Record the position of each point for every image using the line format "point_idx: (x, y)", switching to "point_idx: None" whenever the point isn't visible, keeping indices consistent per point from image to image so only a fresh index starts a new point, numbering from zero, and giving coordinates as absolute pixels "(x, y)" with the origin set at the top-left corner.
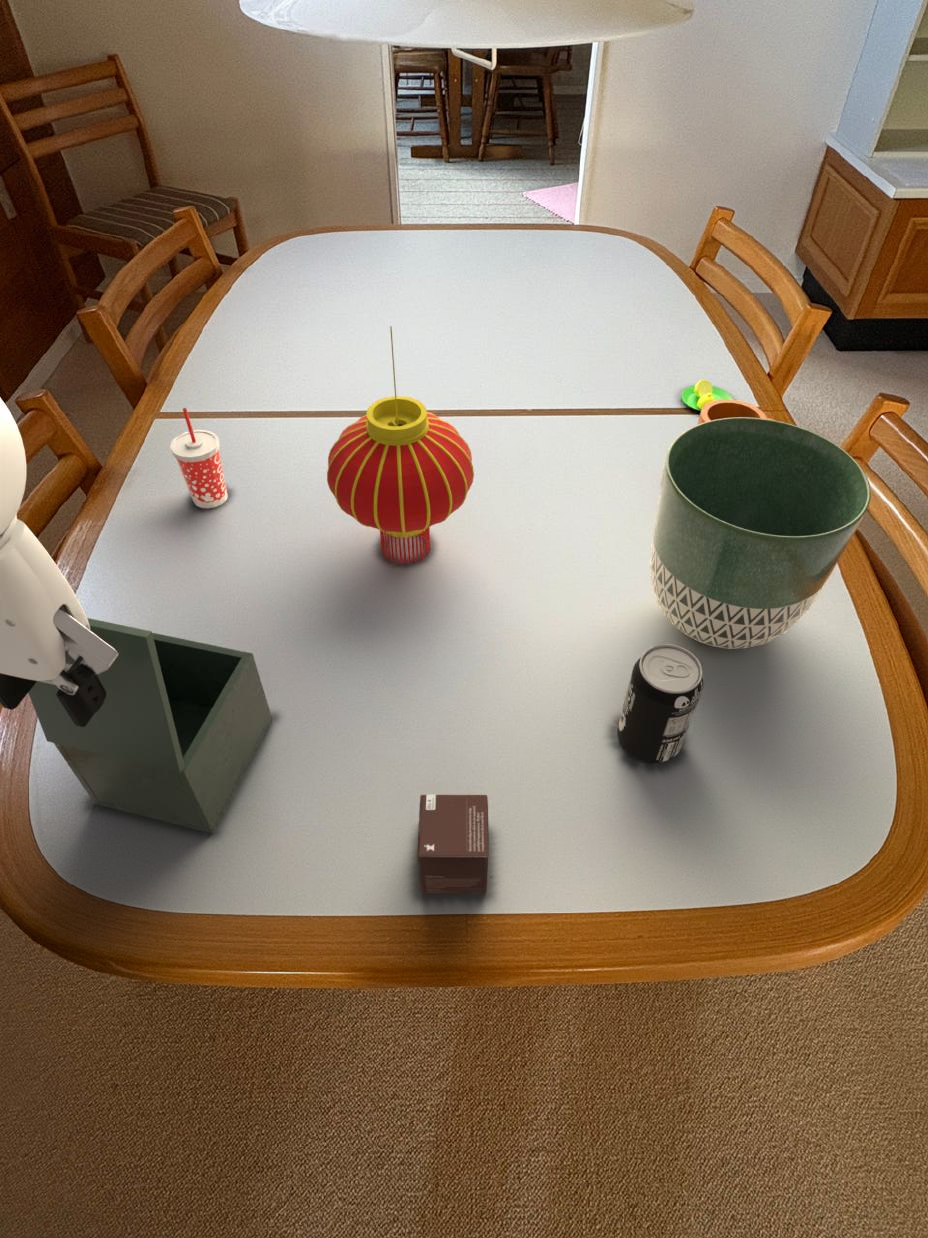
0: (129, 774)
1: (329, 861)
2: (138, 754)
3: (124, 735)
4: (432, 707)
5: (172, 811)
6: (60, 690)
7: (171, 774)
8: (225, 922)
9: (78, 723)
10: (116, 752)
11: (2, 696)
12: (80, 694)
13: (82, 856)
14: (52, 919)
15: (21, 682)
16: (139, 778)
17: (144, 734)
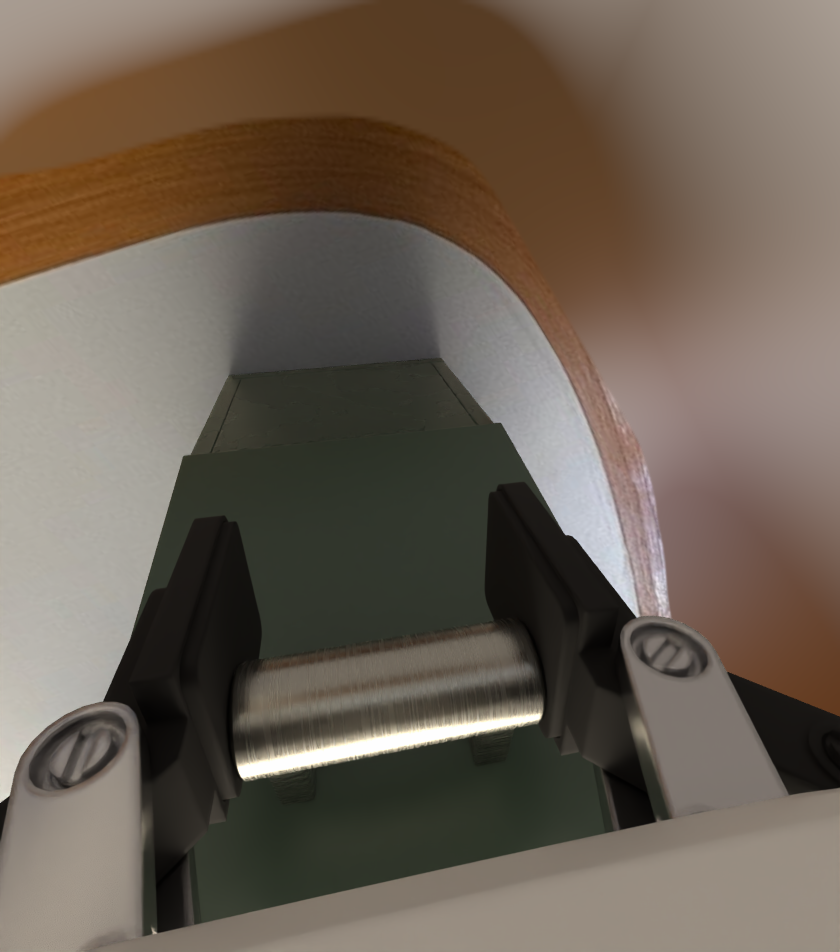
0: (340, 417)
1: (9, 396)
2: (278, 463)
3: (302, 495)
4: (56, 654)
5: (287, 384)
6: (173, 700)
7: (228, 445)
8: (95, 238)
9: (198, 529)
10: (335, 450)
11: (526, 528)
12: (108, 695)
13: (407, 271)
14: (387, 147)
15: (503, 588)
16: (321, 416)
17: (240, 516)
